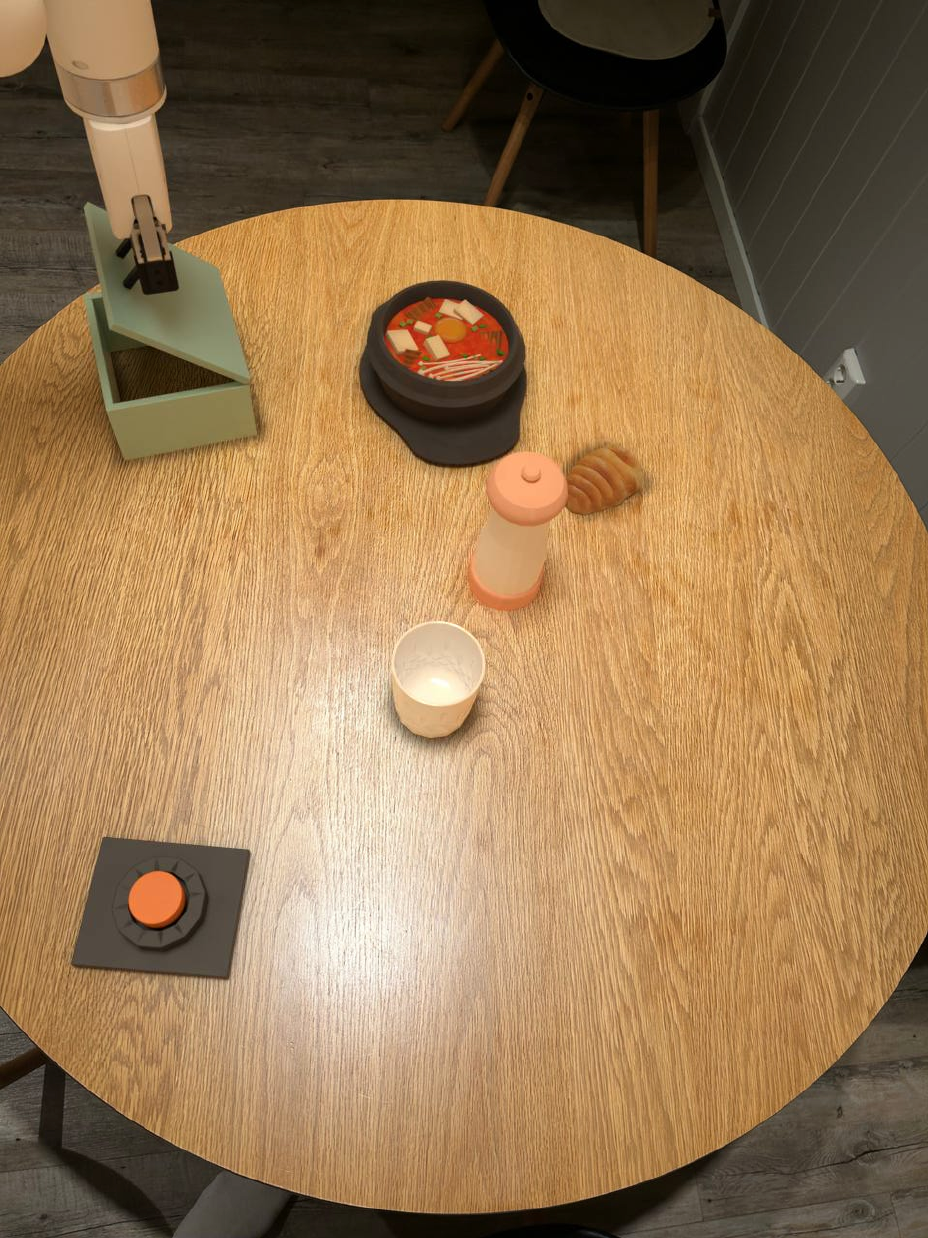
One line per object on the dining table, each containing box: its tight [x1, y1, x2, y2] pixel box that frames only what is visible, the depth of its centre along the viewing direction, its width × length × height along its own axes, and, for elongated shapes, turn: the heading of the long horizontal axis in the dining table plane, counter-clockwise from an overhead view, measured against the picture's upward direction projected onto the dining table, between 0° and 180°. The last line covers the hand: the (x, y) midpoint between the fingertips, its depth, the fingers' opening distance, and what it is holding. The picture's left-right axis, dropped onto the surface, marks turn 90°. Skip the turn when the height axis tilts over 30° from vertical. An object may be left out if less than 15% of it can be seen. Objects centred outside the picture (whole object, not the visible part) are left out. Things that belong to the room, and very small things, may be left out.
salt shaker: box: [467, 451, 568, 612], centre depth 86 cm, size 7×7×19 cm
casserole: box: [358, 279, 528, 465], centre depth 102 cm, size 25×19×8 cm
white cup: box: [390, 620, 487, 739], centre depth 83 cm, size 8×8×10 cm
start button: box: [128, 871, 186, 928], centre depth 73 cm, size 4×4×2 cm
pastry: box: [564, 443, 646, 516], centre depth 99 cm, size 9×7×4 cm
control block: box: [70, 836, 252, 980], centre depth 75 cm, size 12×10×4 cm
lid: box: [83, 201, 252, 384], centre depth 88 cm, size 14×16×5 cm
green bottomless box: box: [82, 291, 258, 461], centre depth 97 cm, size 14×16×9 cm
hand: (155, 266), depth 86 cm, fingers closed on lid, 5 cm apart
